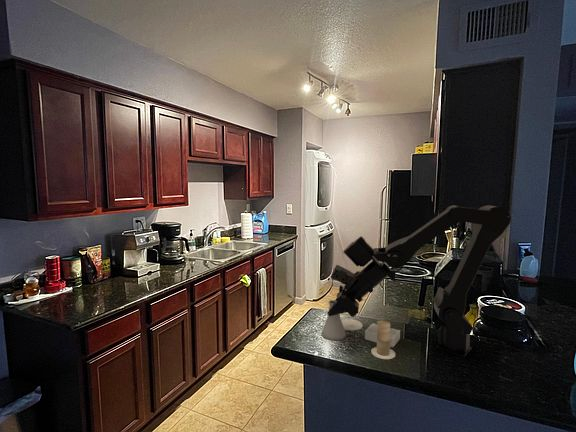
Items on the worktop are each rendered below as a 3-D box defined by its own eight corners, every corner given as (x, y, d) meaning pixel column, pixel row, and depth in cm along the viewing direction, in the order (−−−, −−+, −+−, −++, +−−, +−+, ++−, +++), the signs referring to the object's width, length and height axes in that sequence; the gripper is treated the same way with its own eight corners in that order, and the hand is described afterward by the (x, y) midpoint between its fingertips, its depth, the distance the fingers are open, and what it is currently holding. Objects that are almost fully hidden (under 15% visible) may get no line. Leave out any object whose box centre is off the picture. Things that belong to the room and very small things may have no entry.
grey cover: (400, 339, 87) (400, 330, 87) (393, 347, 83) (393, 338, 82) (372, 331, 92) (373, 322, 92) (364, 339, 88) (364, 330, 87)
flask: (346, 342, 86) (346, 307, 85) (320, 339, 87) (320, 305, 86) (346, 330, 93) (346, 298, 92) (322, 328, 94) (322, 296, 94)
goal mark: (367, 324, 97) (367, 324, 97) (352, 333, 91) (352, 332, 91) (346, 317, 103) (346, 316, 103) (331, 324, 97) (331, 324, 97)
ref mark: (399, 353, 80) (399, 352, 80) (387, 362, 76) (387, 361, 76) (378, 344, 84) (378, 344, 84) (366, 352, 80) (366, 352, 80)
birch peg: (391, 352, 80) (392, 323, 79) (385, 357, 78) (386, 326, 77) (380, 348, 82) (381, 319, 82) (374, 352, 80) (374, 322, 80)
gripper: (350, 250, 96) (315, 282, 100) (345, 265, 78) (303, 303, 82) (376, 277, 95) (339, 308, 99) (377, 298, 77) (332, 335, 81)
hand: (328, 312), depth 90 cm, fingers closed on flask, 3 cm apart
